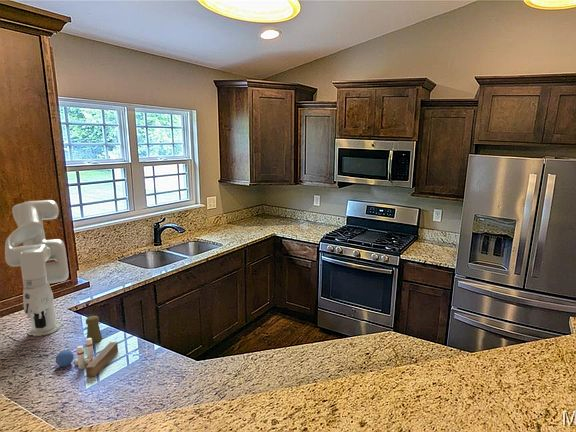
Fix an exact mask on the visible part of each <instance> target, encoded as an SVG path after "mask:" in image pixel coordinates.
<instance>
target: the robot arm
mask: <svg viewBox="0 0 576 432" xmlns="http://www.w3.org/2000/svg"><path fill="white" fill-rule="evenodd" d="M59 212H60V210H59V206H58V203H57V202H56V201H55V200H51V199H44V200H28V201H24V202H21V203H17V204H16V205H14V206H12V209H11V213H12V216H13V219H14V222H15V223H16V226H17V228H16V229H14V230H13V231H12V232H11V233H10V234H9V235H8V237H7V238H6V240H5V243H4V259H5V262H6V264H7V265H8V266H9V267H14V268H15V267H20V269H21V278H22V284H23V291H22V300H23V301H22V303H23V310H24V314H26V315H27V316H26V317H27V319H30V326H31V327H29V329H28V331H27V335H29V336H30V335H33V336H32V337H42V335H43V336H47V335H49V334H53V333H55V332H57V331H58V330H59V329H60V328H61V323H59V322H58V321H56V319H57V318H56V311H55V302H54V301H55V300H54V293H53V291H52V288H51V285H50V284H54V283H55V284H56V283H61V282H65V281H66V280H68V278H69V273H70V272H69V266H68V265H69V264H68V257H67V250H66V249H67V248H66V246H65V242H64V241H63V239H60V238H54V239H53V238H52V239H46V233H45V230H44V223H43V221H48V220H55V219H57V218H58V217H59V214H60V213H59ZM20 244H23V245H20ZM19 245H20V246H19ZM52 260H53V261H54V262H53V261H52ZM48 261H52V262H48Z"/></svg>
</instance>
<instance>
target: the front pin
mask: <svg viewBox="0 0 576 432" xmlns="http://www.w3.org/2000/svg"><path fill="white" fill-rule="evenodd" d="M94 358H95V357H94ZM94 358H89V359H87V358H85V366H87V365H88V364H89V363H90V362H91V361H92V360H93V359H94ZM73 364H74V366H79V365H78V358H75V359H74V361H73Z"/></svg>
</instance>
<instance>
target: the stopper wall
mask: <svg viewBox="0 0 576 432" xmlns="http://www.w3.org/2000/svg"><path fill="white" fill-rule="evenodd" d="M118 346H119V345H118V342H117V341H114V342H113V341H109V342H108V344H107V345H105V347H104V348H103V349H102V350H100V352H99V353H98V354H97V355H96V356H94V359H93V360H92V361H91V362H90V363H89V364H88V365H85V371H86V372H85V373H86V377H87V378H96V376H97V375H99V374H100V372H101V371H102V370H103V369H104V368H105V367H106V365H107V364H108V363H109V362H110V361H111V360H112V359H111V358H114V356H115V355H116V354H117V353H118V352H119V348H118ZM110 359H111V360H110ZM109 360H110V361H109ZM102 368H103V369H102Z"/></svg>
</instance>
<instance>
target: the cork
mask: <svg viewBox="0 0 576 432" xmlns="http://www.w3.org/2000/svg"><path fill="white" fill-rule="evenodd" d="M99 322H100V317H99V316H98V315H90V316H88V317H87V318H86V319H85V325H87V329H86V330H87V332H86V339H87V338H92V344H93V345H94V344H98V343H99V342H101V341H102V340H103V337H102V333H101V329H100V324H99Z"/></svg>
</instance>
